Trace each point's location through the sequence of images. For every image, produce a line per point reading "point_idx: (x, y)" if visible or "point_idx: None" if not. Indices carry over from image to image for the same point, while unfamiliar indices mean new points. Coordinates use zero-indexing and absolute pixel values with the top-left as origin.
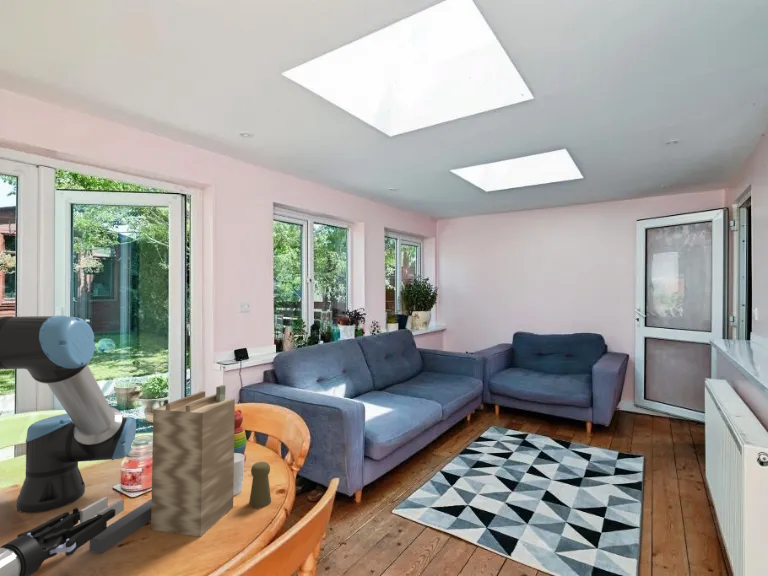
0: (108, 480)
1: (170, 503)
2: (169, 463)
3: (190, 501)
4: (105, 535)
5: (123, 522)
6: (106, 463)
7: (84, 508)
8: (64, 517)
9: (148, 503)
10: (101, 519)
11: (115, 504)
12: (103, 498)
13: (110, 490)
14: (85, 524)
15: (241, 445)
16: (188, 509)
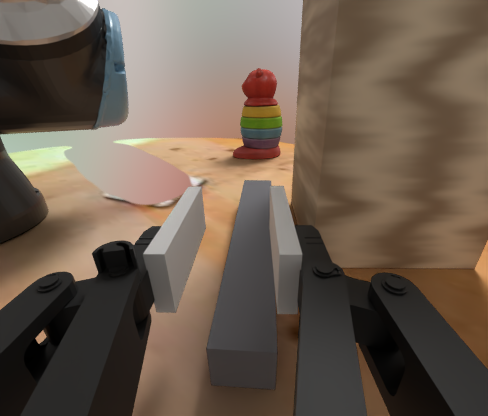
0: (84, 188)
1: (389, 193)
2: (419, 40)
3: (471, 178)
4: (261, 325)
5: (256, 263)
6: (60, 170)
7: (156, 238)
8: (54, 317)
9: (248, 208)
10: (400, 299)
11: (288, 204)
12: (190, 191)
13: (103, 201)
14: (362, 387)
15: (281, 125)
16: (456, 203)
